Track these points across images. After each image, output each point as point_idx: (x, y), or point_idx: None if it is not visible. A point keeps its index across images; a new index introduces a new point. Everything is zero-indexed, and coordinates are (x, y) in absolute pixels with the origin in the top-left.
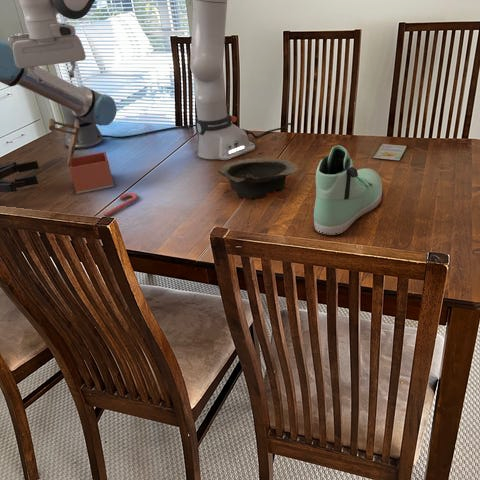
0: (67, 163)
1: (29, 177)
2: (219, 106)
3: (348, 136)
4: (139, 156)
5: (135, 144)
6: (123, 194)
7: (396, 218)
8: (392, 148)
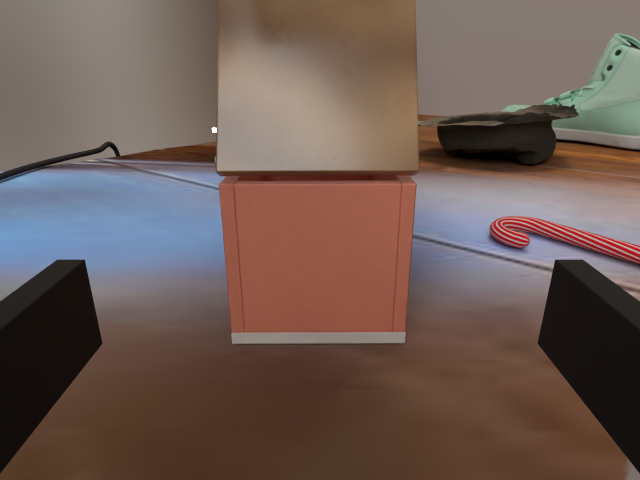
0: (375, 164)
1: (630, 295)
2: None
3: None
4: (142, 212)
5: (12, 211)
6: (509, 229)
7: None
8: None
